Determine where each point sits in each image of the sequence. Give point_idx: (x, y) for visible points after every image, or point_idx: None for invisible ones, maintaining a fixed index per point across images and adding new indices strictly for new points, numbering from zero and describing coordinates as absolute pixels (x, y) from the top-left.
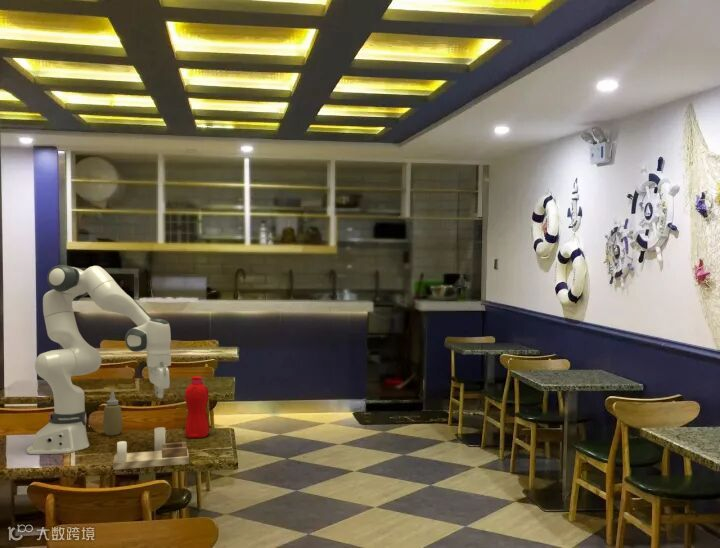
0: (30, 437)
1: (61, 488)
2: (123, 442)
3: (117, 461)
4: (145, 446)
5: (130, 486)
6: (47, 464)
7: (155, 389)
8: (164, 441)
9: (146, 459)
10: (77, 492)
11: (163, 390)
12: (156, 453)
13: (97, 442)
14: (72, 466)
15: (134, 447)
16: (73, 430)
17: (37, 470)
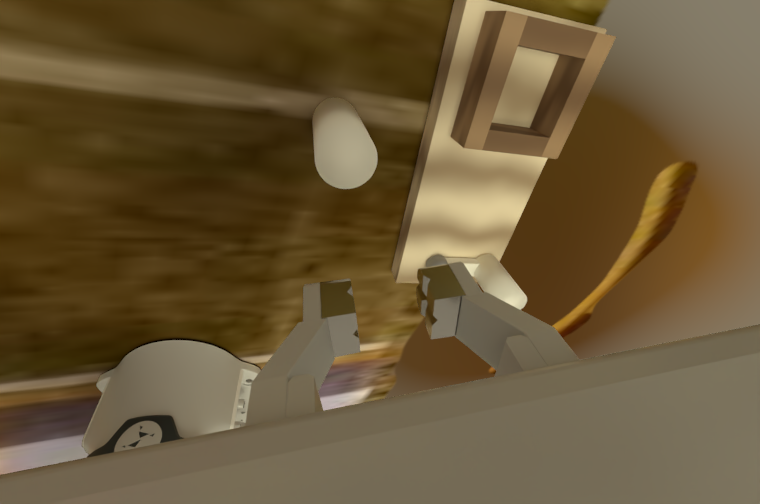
0: (33, 457)
1: None
2: (517, 300)
3: None
4: (216, 173)
5: (638, 235)
6: (351, 383)
7: (317, 386)
8: (356, 115)
9: (517, 200)
10: (584, 318)
11: (531, 320)
12: (464, 160)
13: (115, 323)
14: (394, 345)
15: (225, 214)
16: (223, 422)
17: (390, 388)
